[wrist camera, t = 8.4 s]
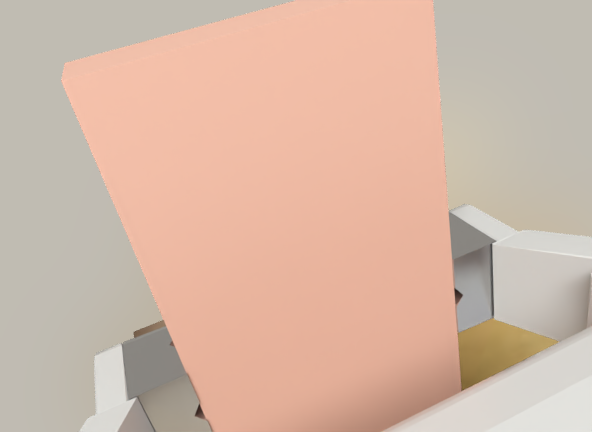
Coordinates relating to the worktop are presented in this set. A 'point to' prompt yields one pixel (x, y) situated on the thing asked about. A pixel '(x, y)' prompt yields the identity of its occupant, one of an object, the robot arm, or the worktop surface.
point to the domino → (288, 208)
